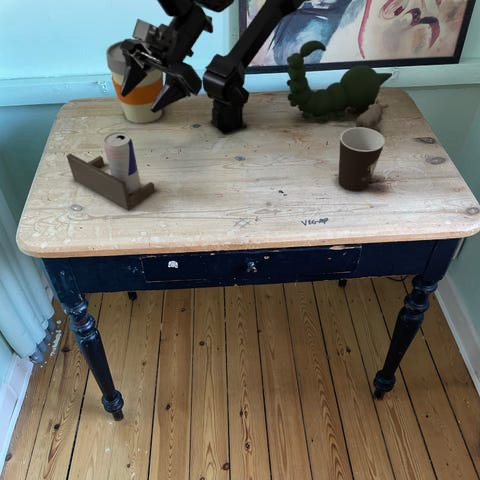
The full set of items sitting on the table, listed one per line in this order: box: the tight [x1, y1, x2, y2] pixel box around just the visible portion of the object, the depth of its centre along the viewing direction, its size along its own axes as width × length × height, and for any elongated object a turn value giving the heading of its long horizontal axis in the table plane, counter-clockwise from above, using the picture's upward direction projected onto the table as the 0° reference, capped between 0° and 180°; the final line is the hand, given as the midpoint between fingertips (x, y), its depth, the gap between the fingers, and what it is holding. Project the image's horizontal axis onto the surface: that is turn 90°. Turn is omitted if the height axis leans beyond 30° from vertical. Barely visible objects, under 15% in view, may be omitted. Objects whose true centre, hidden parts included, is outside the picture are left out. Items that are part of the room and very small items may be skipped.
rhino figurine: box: [355, 99, 389, 131], centre depth 114 cm, size 4×14×6 cm, turn 145°
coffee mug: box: [337, 127, 386, 193], centre depth 100 cm, size 12×9×10 cm
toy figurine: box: [286, 40, 393, 123], centre depth 114 cm, size 9×19×25 cm
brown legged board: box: [66, 153, 156, 211], centre depth 101 cm, size 8×17×6 cm, turn 52°
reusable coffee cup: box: [105, 38, 164, 124], centre depth 116 cm, size 12×12×15 cm
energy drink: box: [103, 131, 142, 196], centre depth 97 cm, size 5×5×12 cm
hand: (136, 103), depth 95 cm, fingers open, 9 cm apart
